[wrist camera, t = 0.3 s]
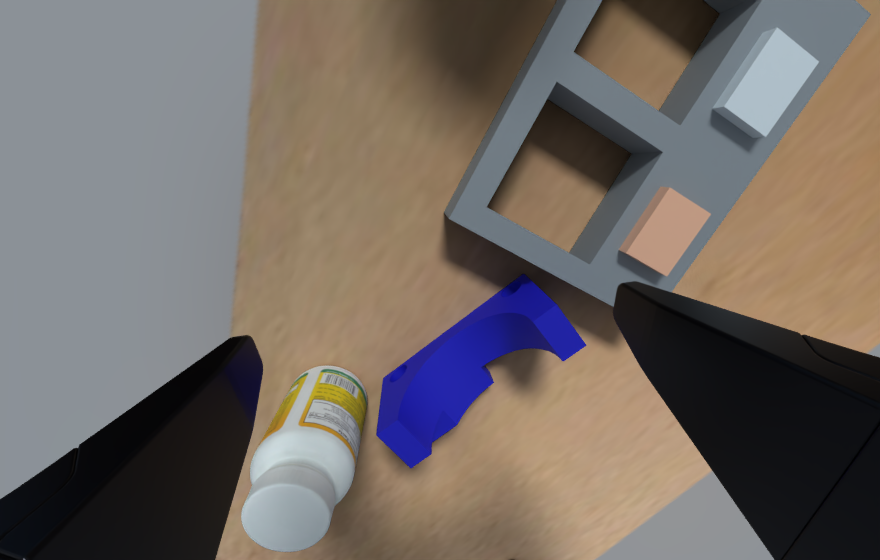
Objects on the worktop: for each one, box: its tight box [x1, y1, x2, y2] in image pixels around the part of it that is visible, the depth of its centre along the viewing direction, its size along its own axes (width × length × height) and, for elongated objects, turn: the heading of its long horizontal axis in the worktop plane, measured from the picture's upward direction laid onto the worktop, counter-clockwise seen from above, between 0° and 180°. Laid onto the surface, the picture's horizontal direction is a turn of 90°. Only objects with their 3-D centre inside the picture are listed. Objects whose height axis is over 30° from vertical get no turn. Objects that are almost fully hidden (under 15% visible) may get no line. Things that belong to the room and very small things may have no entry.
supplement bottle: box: [241, 366, 367, 552], centre depth 22 cm, size 5×5×10 cm
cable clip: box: [376, 274, 586, 468], centre depth 24 cm, size 12×4×6 cm, turn 128°
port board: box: [444, 0, 871, 307], centre depth 21 cm, size 19×14×4 cm
